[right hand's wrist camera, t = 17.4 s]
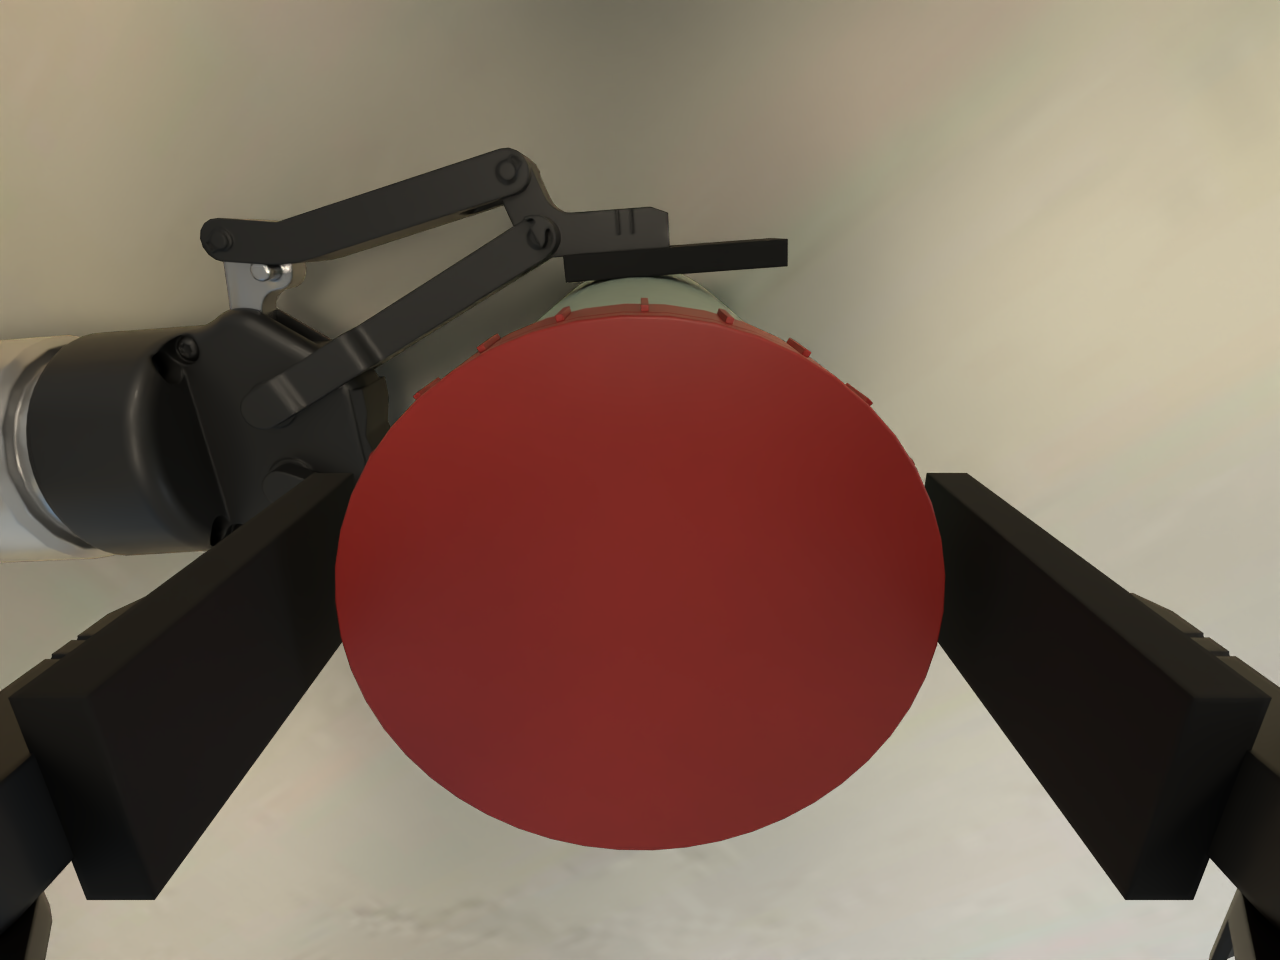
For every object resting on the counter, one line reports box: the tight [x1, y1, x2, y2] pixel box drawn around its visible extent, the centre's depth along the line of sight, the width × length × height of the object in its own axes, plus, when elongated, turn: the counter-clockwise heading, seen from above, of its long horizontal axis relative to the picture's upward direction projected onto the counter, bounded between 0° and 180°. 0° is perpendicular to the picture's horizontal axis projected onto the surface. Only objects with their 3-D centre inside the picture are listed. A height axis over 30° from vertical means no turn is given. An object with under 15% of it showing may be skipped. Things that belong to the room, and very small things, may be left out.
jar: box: [535, 274, 744, 323], centre depth 20 cm, size 9×9×18 cm
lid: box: [335, 298, 945, 850], centre depth 11 cm, size 9×9×2 cm
